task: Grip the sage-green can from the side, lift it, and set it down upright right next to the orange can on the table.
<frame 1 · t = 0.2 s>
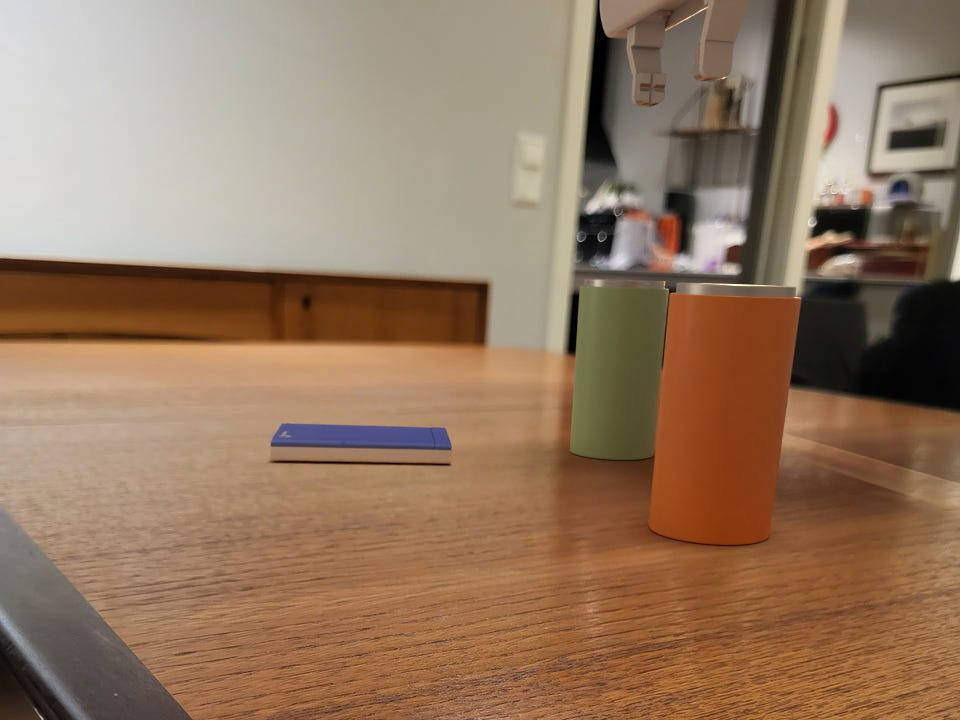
hand: (676, 93, 62), 24 cm above the table, tool pointing down, fingers open, 8 cm apart
green can: (611, 452, 77), on the table
orange can: (708, 530, 54), on the table
hard drive: (363, 456, 73), on the table
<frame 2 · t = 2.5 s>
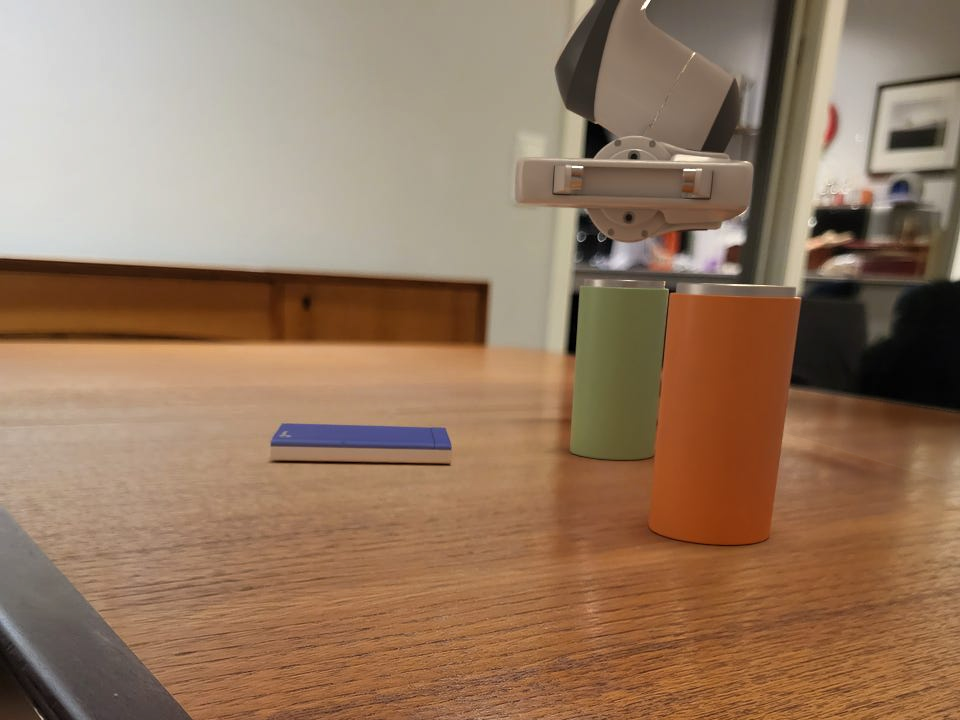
hand: (632, 178, 80), 20 cm above the table, tool horizontal, fingers open, 8 cm apart
nothing on the table moved.
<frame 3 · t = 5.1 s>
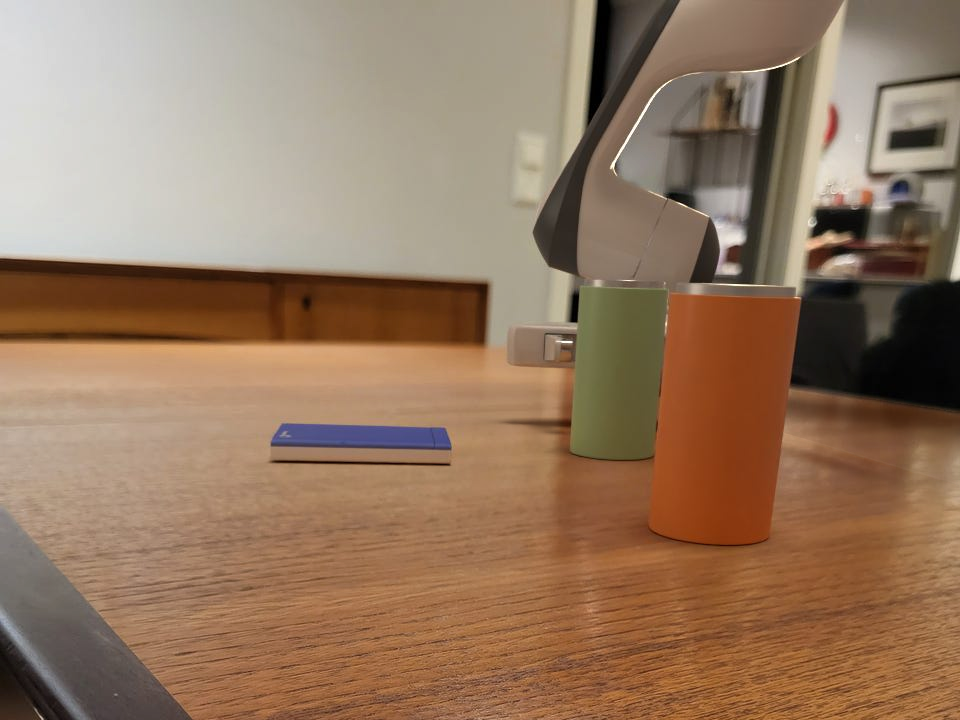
hand: (620, 353, 82), 7 cm above the table, tool horizontal, fingers open, 8 cm apart
nothing on the table moved.
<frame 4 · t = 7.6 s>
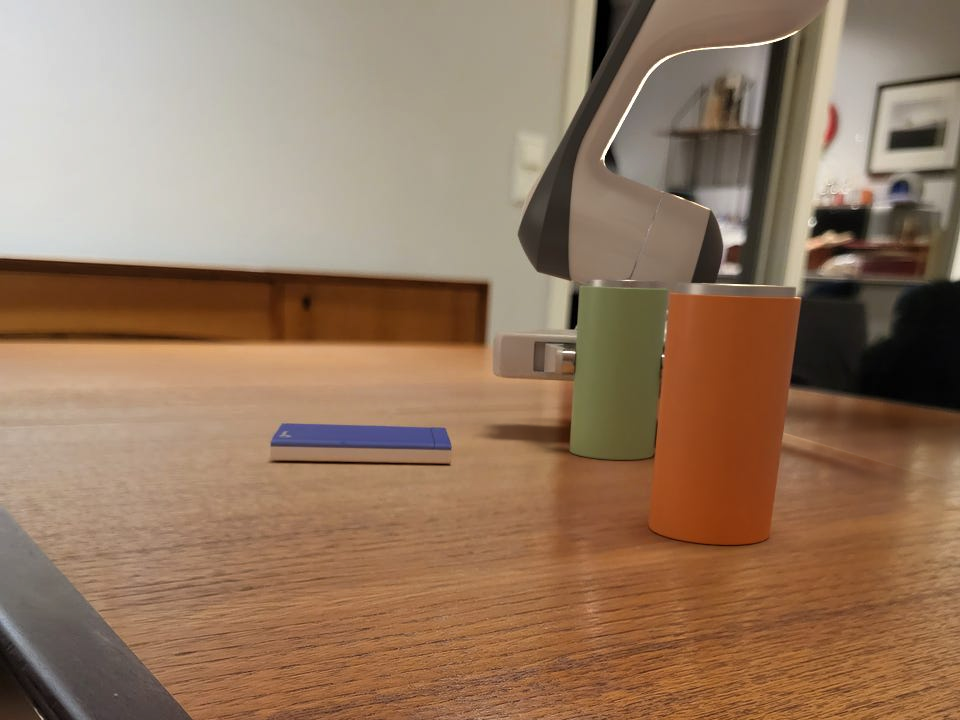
hand: (618, 364, 74), 7 cm above the table, tool horizontal, fingers closed on green can, 6 cm apart
green can: (611, 452, 77), on the table, touching gripper
everything else where it was.
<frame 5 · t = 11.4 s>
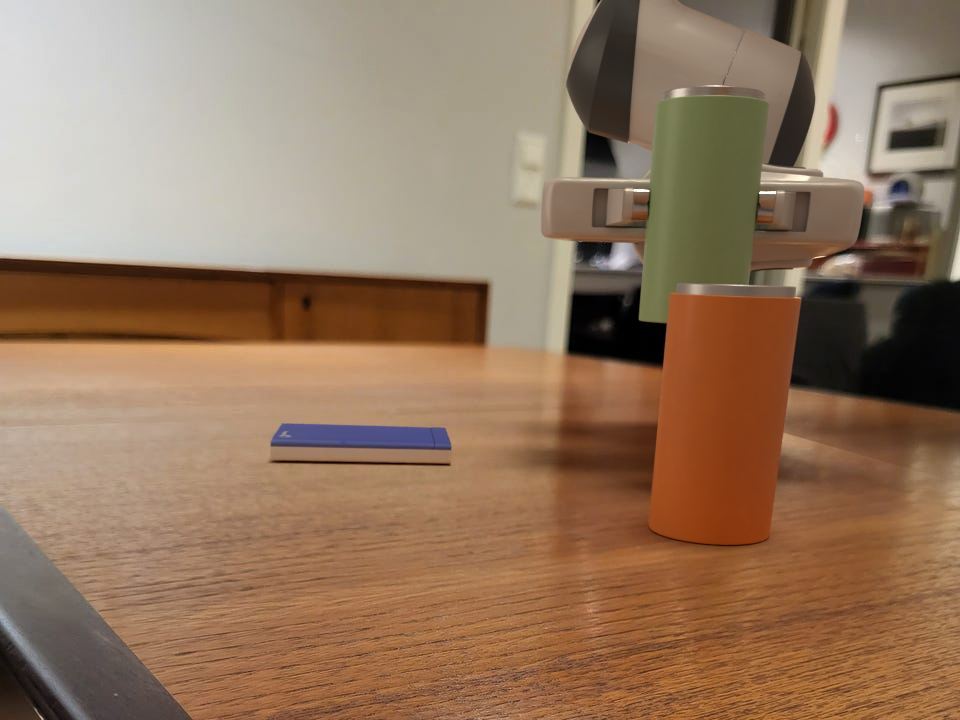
hand: (703, 205, 59), 17 cm above the table, tool horizontal, fingers closed on green can, 6 cm apart
green can: (690, 322, 62), point 10 cm above the table, touching gripper
everything else where it was.
when the fingers open (7 cm above the table, at t = 15.4 s): green can stays where it is, on the table.
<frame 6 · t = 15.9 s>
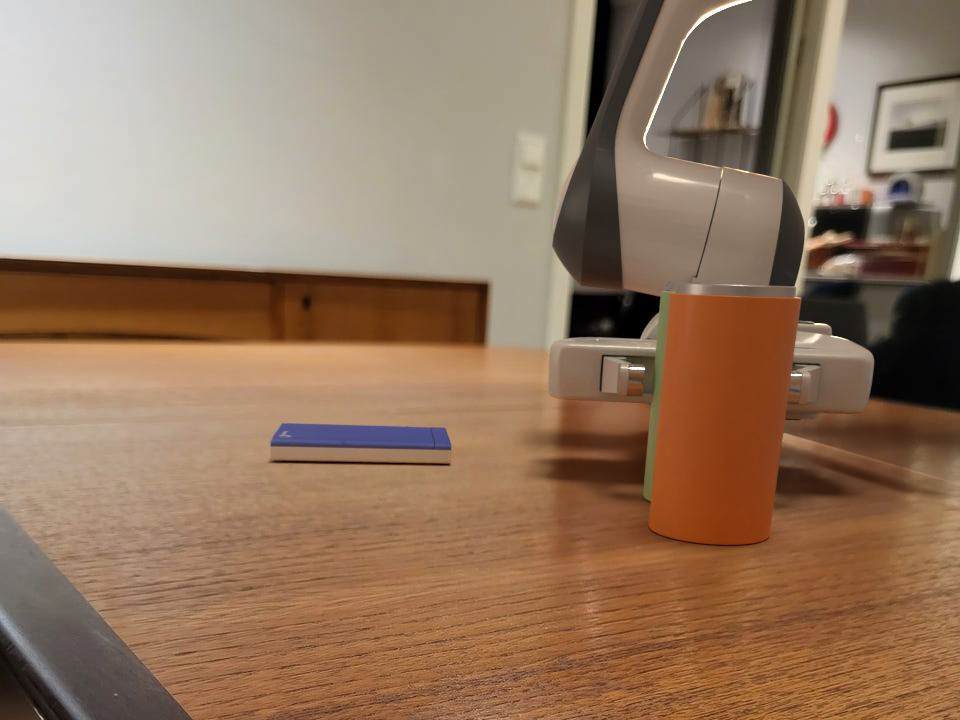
hand: (713, 385, 58), 7 cm above the table, tool horizontal, fingers open, 8 cm apart
green can: (695, 499, 61), on the table
everything else where it was.
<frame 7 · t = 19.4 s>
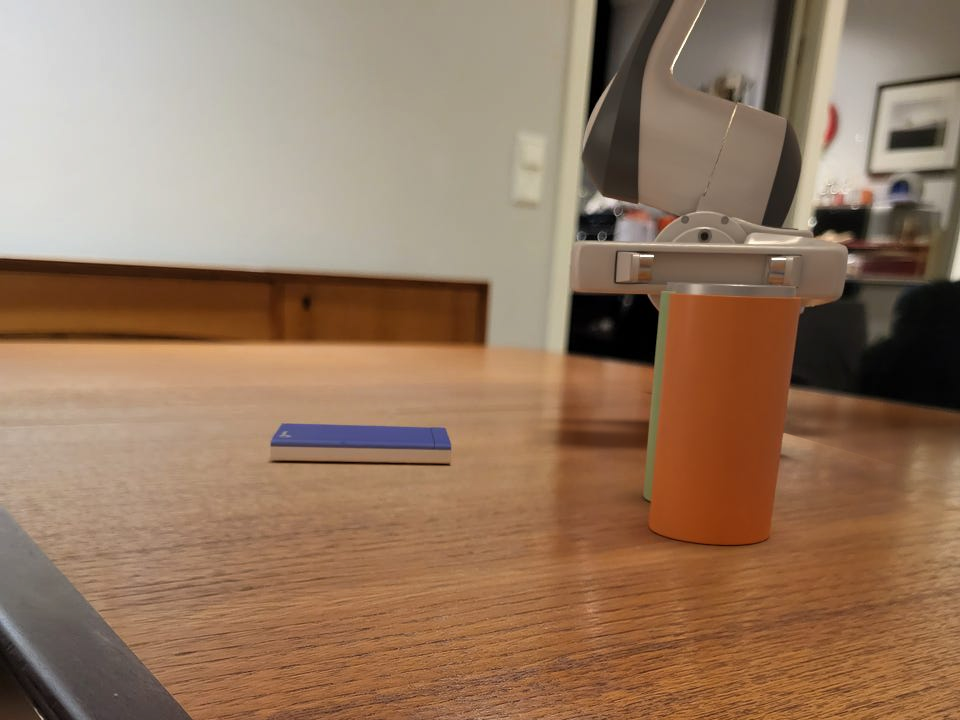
hand: (711, 268, 69), 13 cm above the table, tool horizontal, fingers open, 8 cm apart
nothing on the table moved.
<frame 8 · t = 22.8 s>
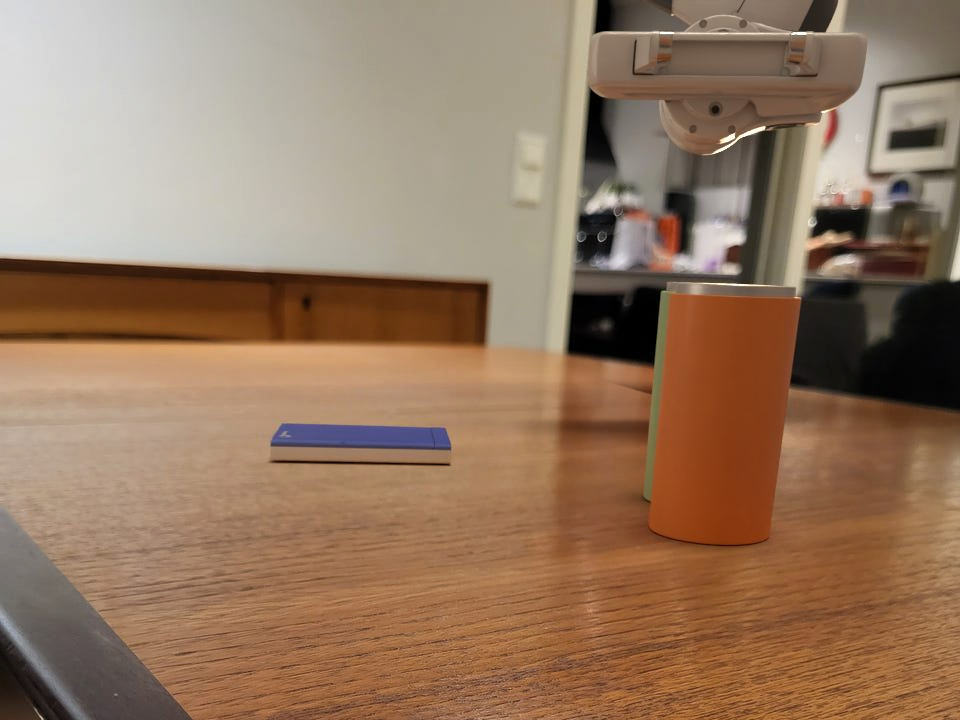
hand: (731, 44, 69), 28 cm above the table, tool horizontal, fingers open, 8 cm apart
nothing on the table moved.
at the end: green can 8.0 cm from the orange can (horizontally); green can tilted 0°; green can moved 16.6 cm from its start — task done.
